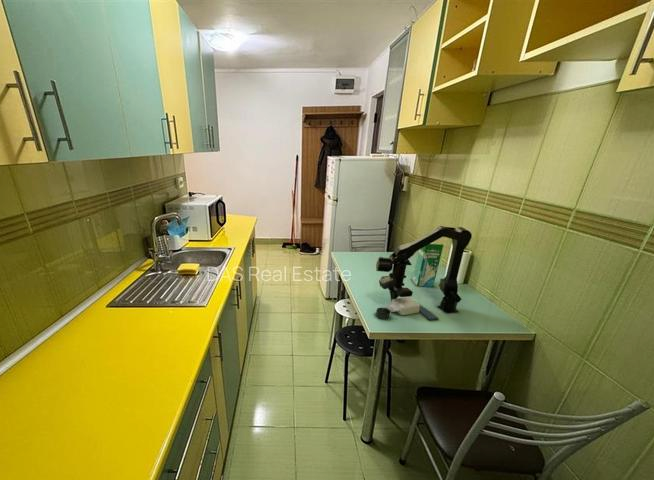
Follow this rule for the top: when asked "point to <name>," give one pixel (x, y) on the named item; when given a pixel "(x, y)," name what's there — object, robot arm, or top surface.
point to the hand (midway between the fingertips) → (392, 301)
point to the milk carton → (427, 265)
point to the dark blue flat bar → (427, 313)
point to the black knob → (383, 313)
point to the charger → (404, 306)
